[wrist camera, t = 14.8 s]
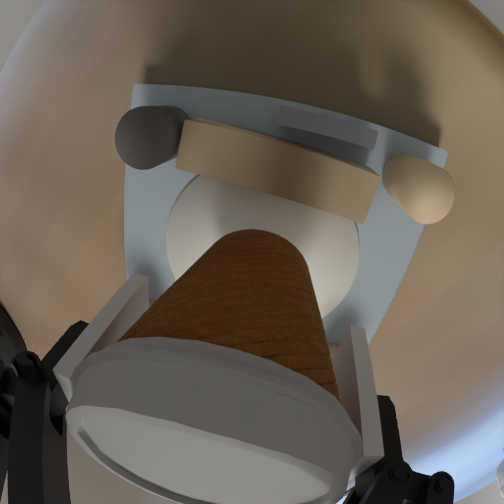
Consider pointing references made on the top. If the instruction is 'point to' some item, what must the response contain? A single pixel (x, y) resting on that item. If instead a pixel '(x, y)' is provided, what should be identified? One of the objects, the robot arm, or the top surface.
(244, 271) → the disposable coffee cup
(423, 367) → the top surface
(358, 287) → the board
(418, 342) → the top surface
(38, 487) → the robot arm
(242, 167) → the stool leg
